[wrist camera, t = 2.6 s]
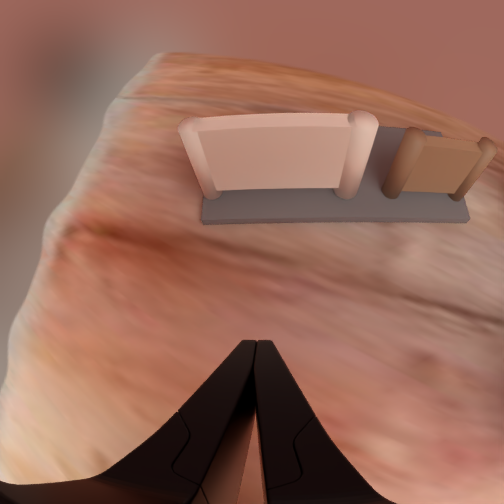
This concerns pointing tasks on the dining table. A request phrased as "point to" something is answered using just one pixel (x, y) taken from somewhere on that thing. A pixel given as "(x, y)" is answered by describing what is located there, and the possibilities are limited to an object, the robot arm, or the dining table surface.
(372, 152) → the board
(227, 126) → the fence gate
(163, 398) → the dining table surface
